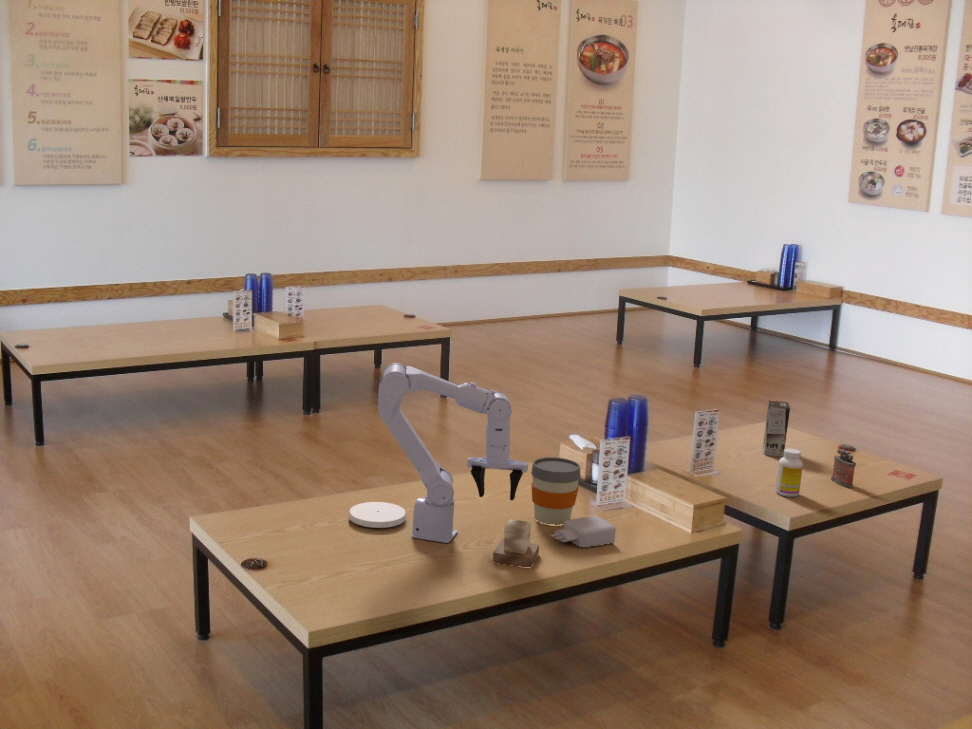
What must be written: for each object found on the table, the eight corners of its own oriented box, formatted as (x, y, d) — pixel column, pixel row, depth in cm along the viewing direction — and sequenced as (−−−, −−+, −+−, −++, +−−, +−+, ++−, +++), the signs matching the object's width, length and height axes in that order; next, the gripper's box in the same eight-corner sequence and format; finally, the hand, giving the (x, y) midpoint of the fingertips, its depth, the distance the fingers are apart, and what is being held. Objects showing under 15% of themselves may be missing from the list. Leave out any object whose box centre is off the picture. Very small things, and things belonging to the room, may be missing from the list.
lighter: (855, 487, 321) (860, 455, 319) (846, 488, 320) (850, 456, 318) (837, 478, 328) (841, 447, 326) (828, 479, 327) (832, 447, 325)
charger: (542, 539, 267) (593, 531, 274) (562, 553, 259) (614, 545, 266) (544, 521, 266) (594, 514, 273) (564, 534, 258) (616, 527, 265)
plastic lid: (376, 536, 262) (376, 526, 262) (337, 519, 271) (337, 510, 270) (416, 522, 273) (417, 512, 272) (378, 507, 281) (378, 497, 281)
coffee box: (784, 457, 347) (790, 408, 343) (763, 455, 348) (769, 406, 344) (782, 449, 355) (788, 401, 352) (762, 447, 356) (768, 399, 353)
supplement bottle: (803, 497, 310) (809, 454, 307) (783, 498, 308) (788, 454, 305) (790, 489, 316) (796, 447, 313) (770, 490, 314) (776, 447, 311)
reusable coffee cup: (536, 530, 272) (540, 473, 268) (521, 512, 283) (525, 457, 280) (583, 528, 275) (588, 471, 272) (566, 510, 287) (571, 456, 284)
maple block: (503, 550, 251) (504, 526, 250) (508, 543, 256) (510, 519, 254) (524, 554, 250) (525, 529, 248) (529, 546, 254) (530, 522, 253)
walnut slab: (492, 564, 250) (493, 552, 250) (501, 550, 259) (502, 538, 258) (530, 571, 248) (531, 558, 248) (538, 556, 257) (539, 544, 256)
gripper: (464, 445, 258) (463, 499, 261) (523, 451, 254) (522, 506, 257) (472, 437, 264) (471, 490, 267) (530, 442, 261) (529, 496, 264)
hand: (497, 497), depth 263 cm, fingers open, 7 cm apart
